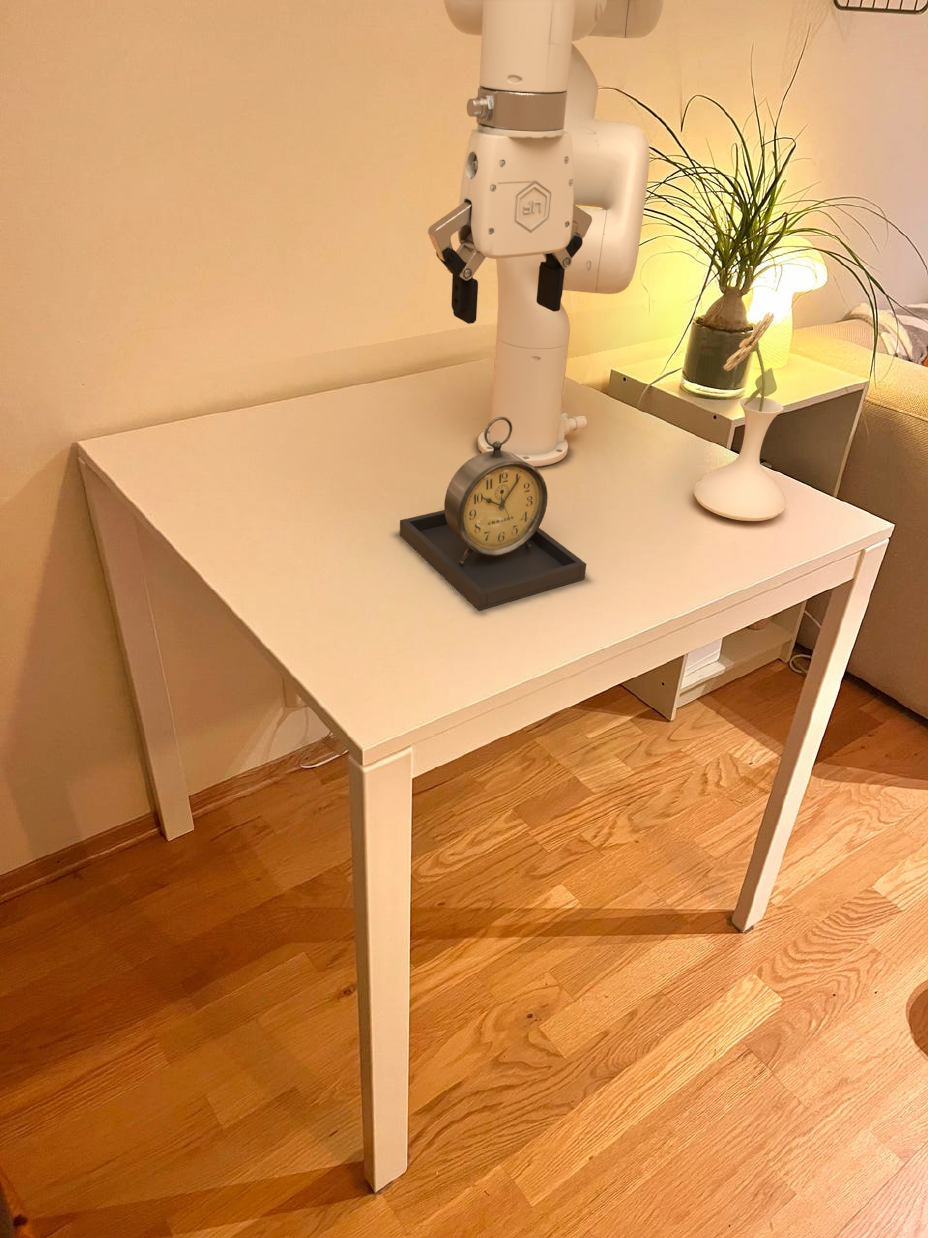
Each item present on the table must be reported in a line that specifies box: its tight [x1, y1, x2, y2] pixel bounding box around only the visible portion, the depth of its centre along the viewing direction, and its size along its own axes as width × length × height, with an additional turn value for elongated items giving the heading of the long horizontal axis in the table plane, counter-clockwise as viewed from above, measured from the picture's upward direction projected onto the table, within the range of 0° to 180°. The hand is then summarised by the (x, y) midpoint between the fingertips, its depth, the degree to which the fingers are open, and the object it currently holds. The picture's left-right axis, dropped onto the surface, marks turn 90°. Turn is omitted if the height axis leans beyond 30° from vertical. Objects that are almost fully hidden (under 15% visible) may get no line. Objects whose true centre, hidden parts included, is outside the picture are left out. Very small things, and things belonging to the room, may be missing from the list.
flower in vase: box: [693, 311, 787, 522], centre depth 108 cm, size 13×11×25 cm
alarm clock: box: [443, 417, 548, 566], centre depth 98 cm, size 11×5×16 cm, turn 117°
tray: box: [399, 509, 587, 611], centre depth 102 cm, size 14×18×2 cm
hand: (507, 313), depth 89 cm, fingers open, 9 cm apart
